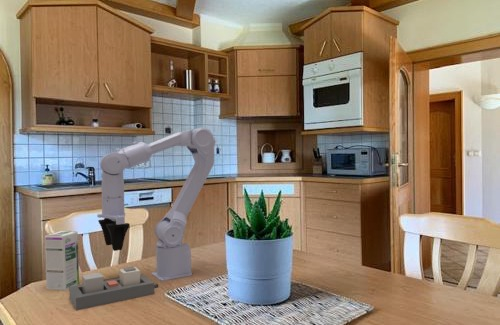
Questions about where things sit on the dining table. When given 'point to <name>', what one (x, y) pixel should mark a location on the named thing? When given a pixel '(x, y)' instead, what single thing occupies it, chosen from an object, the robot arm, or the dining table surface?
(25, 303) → the dining table surface
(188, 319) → the dining table surface
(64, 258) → the syrup box
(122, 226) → the robot arm
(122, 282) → the plug
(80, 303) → the strip
